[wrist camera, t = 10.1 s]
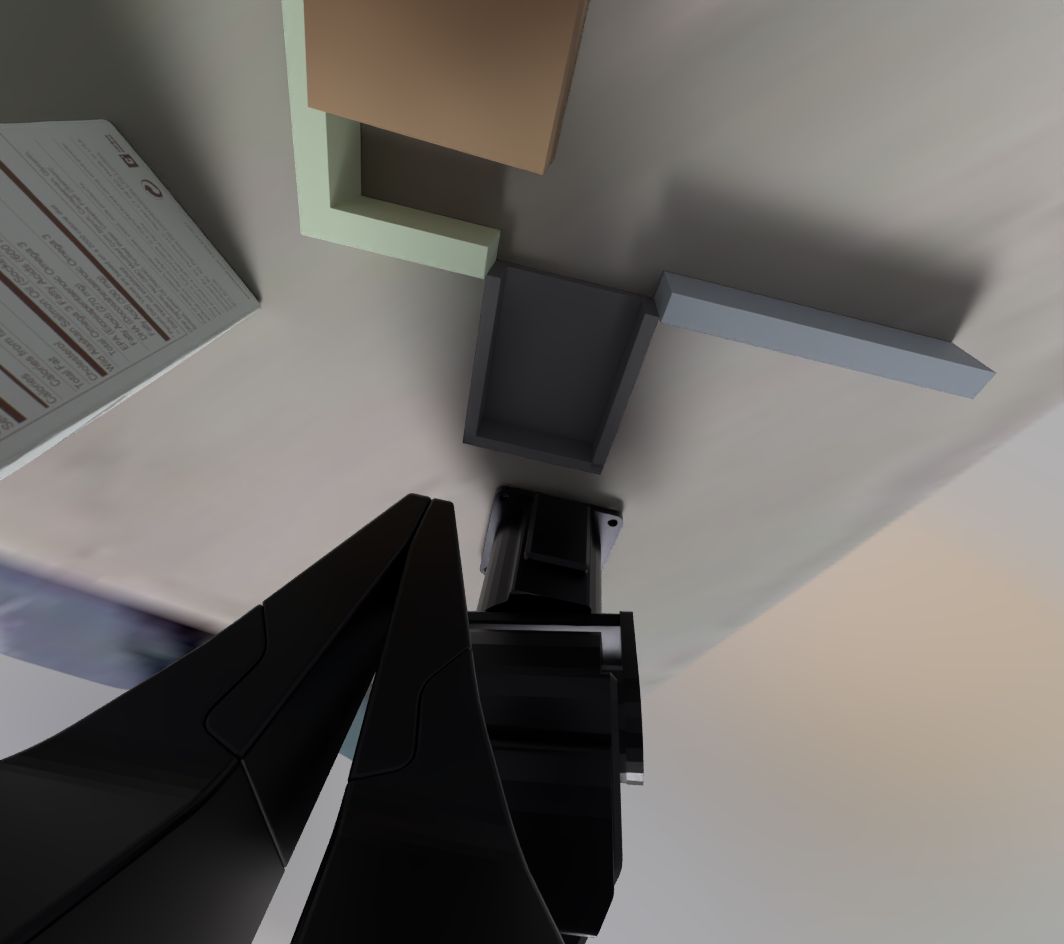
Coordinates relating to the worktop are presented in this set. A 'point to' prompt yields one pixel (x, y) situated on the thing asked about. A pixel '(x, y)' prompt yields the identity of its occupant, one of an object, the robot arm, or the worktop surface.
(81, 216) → the supplement box
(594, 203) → the worktop surface
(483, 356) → the box
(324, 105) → the walnut block
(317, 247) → the worktop surface
